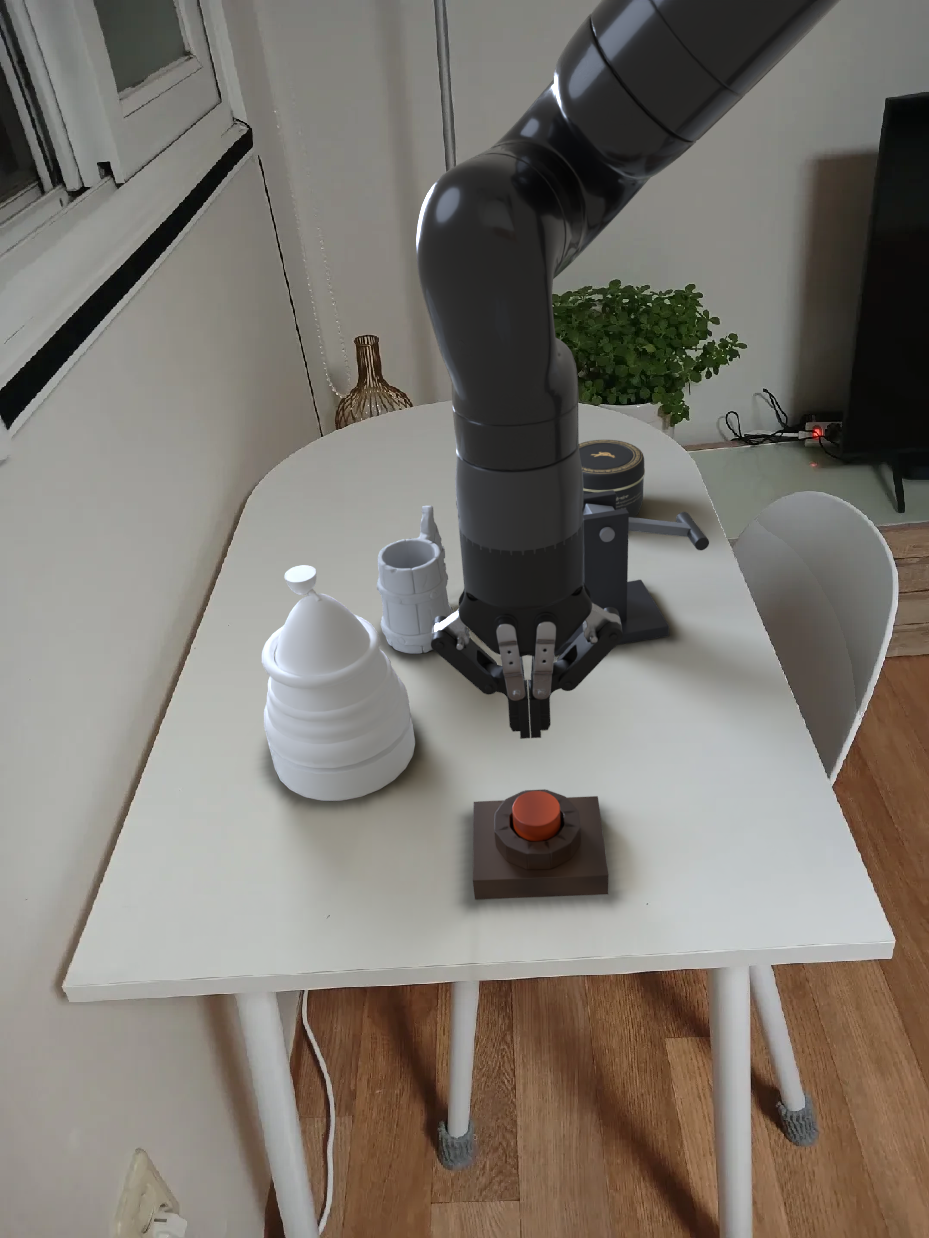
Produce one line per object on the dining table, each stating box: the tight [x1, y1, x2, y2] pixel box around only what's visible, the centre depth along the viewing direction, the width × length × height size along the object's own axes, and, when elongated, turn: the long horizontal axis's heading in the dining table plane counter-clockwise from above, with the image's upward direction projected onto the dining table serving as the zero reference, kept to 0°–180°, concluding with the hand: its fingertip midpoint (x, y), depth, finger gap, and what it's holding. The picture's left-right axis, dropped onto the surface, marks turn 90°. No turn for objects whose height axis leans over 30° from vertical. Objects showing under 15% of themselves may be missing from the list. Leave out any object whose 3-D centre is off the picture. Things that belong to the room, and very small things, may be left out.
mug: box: [376, 505, 455, 655], centre depth 98 cm, size 8×12×12 cm, turn 162°
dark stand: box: [554, 490, 670, 656], centre depth 96 cm, size 12×9×14 cm
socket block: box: [472, 788, 609, 901], centre depth 73 cm, size 10×8×4 cm
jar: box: [579, 439, 646, 518], centre depth 116 cm, size 10×10×8 cm
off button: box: [512, 791, 561, 842], centre depth 72 cm, size 4×4×2 cm
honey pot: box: [261, 564, 416, 802], centre depth 81 cm, size 13×13×18 cm
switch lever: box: [583, 504, 710, 551], centre depth 94 cm, size 12×6×2 cm, turn 99°
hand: (530, 730), depth 67 cm, fingers closed
